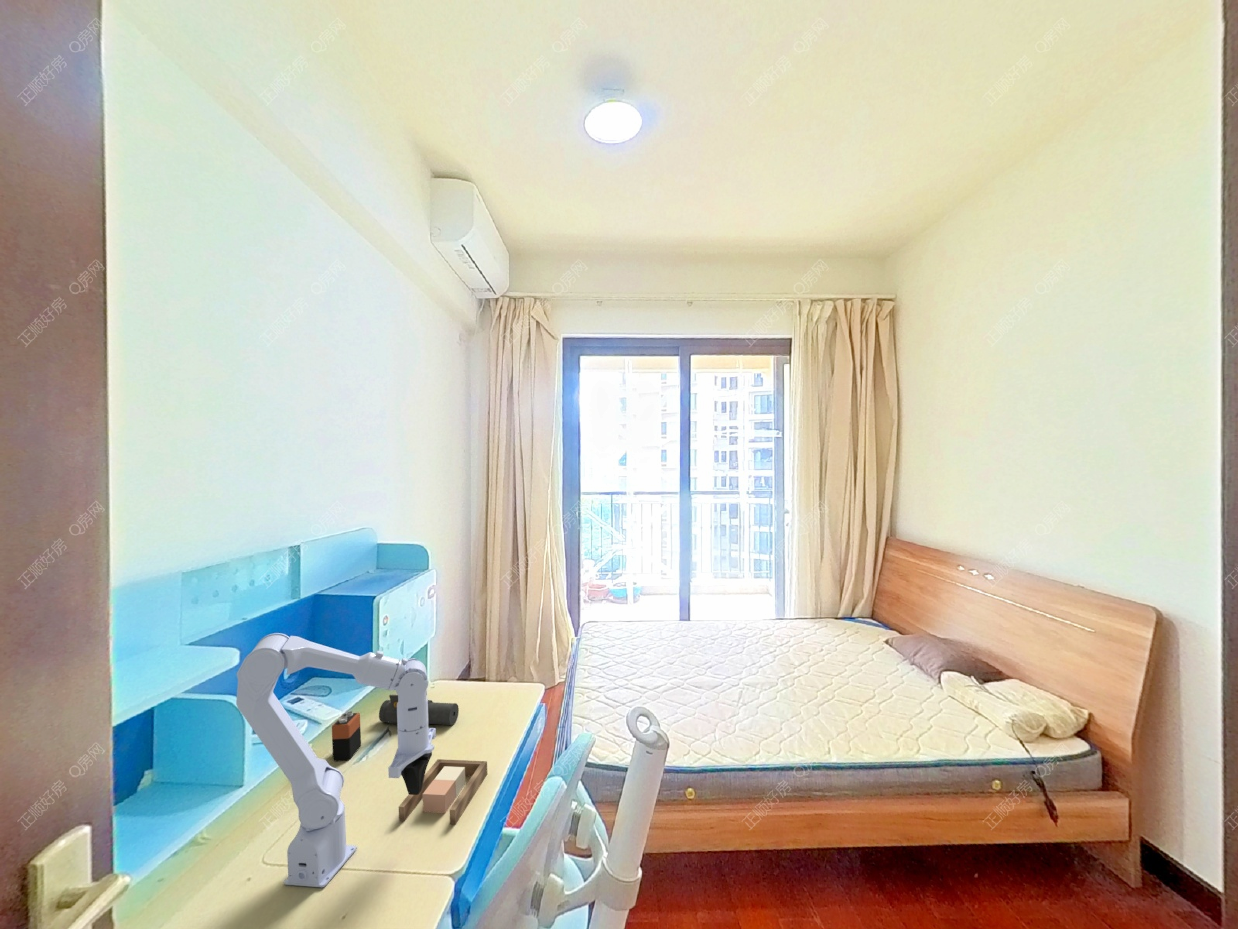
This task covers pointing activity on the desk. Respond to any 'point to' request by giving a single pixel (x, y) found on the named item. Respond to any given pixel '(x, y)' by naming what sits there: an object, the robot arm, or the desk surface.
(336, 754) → the battery
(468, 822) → the desk surface
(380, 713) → the laser sight
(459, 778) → the tile far
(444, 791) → the pink cube-like block
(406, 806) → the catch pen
